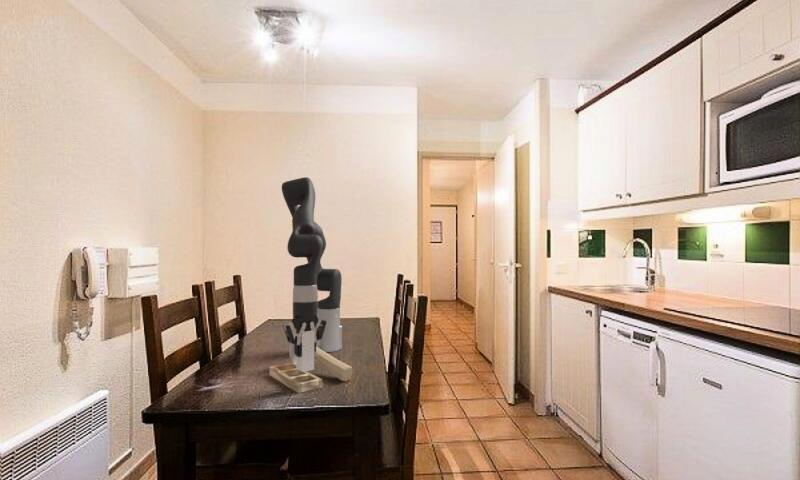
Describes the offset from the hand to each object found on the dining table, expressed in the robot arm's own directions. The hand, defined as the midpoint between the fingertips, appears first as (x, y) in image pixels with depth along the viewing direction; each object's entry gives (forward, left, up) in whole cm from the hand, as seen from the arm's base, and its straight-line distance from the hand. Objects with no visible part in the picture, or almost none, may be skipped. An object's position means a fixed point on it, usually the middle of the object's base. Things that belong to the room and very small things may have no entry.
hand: (305, 355), depth 138 cm
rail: (0, -7, -10) cm, 12 cm away
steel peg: (0, 0, -4) cm, 4 cm away
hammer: (-10, -11, -10) cm, 18 cm away
